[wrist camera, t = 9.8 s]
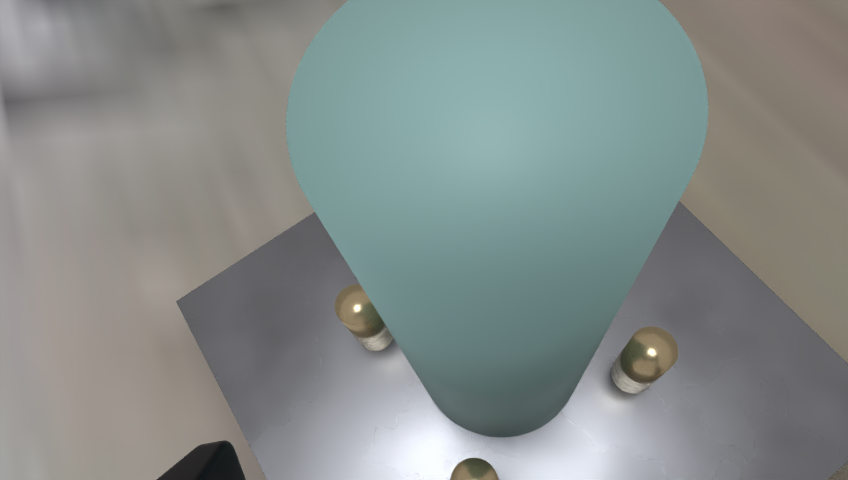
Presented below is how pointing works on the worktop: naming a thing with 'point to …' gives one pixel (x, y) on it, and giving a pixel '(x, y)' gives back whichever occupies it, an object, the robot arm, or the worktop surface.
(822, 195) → the worktop surface
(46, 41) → the worktop surface
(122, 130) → the worktop surface
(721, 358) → the metal base plate
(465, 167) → the post
